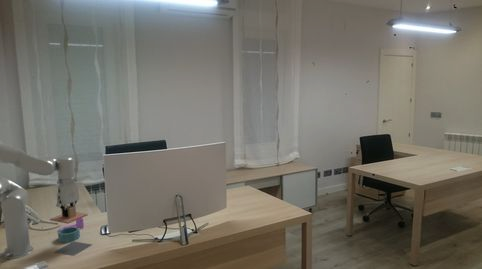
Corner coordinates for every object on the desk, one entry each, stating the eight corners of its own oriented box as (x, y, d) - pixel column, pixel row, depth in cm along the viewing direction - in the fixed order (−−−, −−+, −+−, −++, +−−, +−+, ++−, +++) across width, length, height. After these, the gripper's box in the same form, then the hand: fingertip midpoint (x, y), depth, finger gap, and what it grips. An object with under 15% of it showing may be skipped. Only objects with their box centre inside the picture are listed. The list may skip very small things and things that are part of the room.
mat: (73, 256, 168) (73, 255, 168) (53, 253, 172) (53, 252, 172) (92, 245, 180) (92, 244, 180) (73, 242, 184) (73, 241, 184)
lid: (68, 223, 170) (67, 212, 169) (50, 220, 175) (49, 209, 174) (87, 215, 182) (86, 204, 181) (70, 212, 186) (69, 202, 186)
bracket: (83, 225, 209) (82, 214, 208) (83, 228, 204) (83, 217, 203) (59, 229, 202) (58, 218, 202) (59, 232, 198) (58, 221, 197)
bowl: (69, 244, 182) (68, 235, 181) (54, 241, 185) (53, 233, 184) (83, 236, 191) (83, 228, 191) (69, 234, 195) (68, 226, 194)
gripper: (58, 185, 167) (60, 221, 169) (84, 178, 182) (86, 211, 184) (47, 184, 170) (49, 219, 172) (74, 176, 185) (76, 209, 187)
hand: (68, 214), depth 178 cm, fingers closed on lid, 3 cm apart
